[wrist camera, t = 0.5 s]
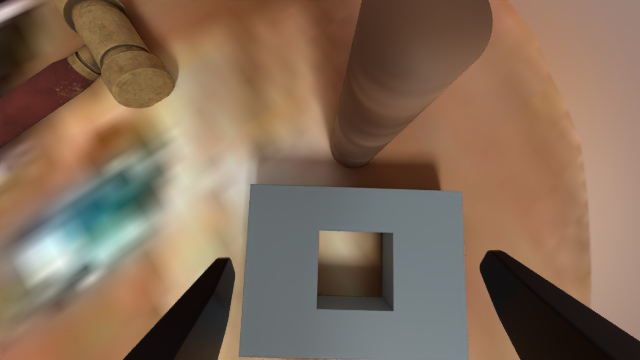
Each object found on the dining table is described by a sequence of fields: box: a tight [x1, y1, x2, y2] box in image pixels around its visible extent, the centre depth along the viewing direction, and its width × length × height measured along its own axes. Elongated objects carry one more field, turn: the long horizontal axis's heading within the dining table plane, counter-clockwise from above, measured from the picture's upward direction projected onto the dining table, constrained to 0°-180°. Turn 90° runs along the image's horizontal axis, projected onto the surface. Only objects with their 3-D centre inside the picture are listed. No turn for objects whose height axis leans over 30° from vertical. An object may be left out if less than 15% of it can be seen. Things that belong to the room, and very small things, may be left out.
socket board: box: [239, 184, 469, 360], centre depth 20 cm, size 12×16×3 cm
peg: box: [330, 0, 493, 168], centre depth 15 cm, size 4×4×15 cm
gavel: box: [0, 0, 174, 147], centre depth 21 cm, size 21×5×10 cm
